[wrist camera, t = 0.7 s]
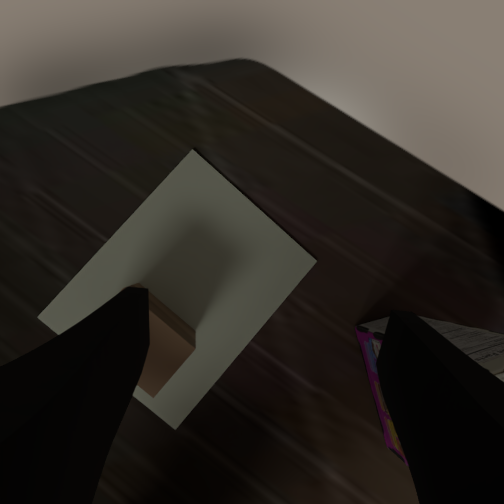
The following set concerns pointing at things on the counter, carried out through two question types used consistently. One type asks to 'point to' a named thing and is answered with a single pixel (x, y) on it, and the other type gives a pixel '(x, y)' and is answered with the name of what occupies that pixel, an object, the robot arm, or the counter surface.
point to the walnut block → (164, 345)
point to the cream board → (192, 275)
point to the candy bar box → (465, 338)
